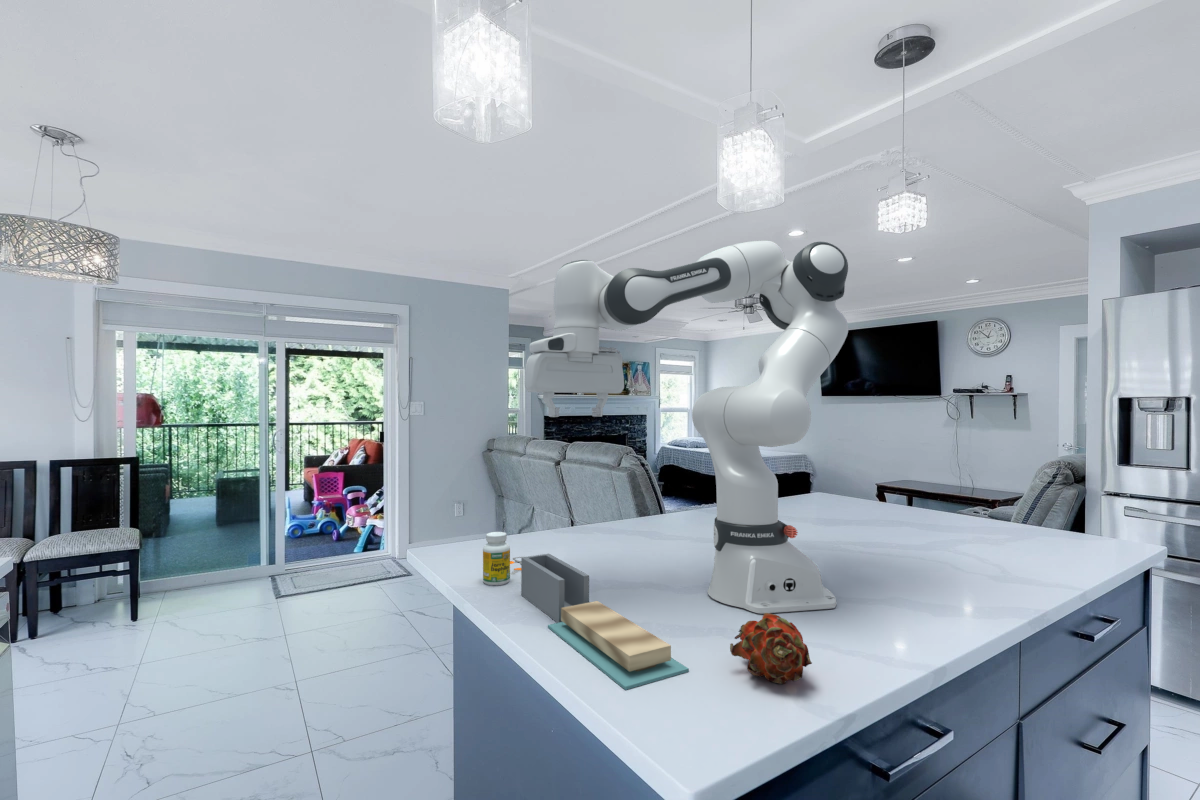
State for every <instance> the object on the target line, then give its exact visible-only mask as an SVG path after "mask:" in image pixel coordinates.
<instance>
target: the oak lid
mask: <svg viewBox="0 0 1200 800" xmlns="http://www.w3.org/2000/svg"><path fill="white" fill-rule="evenodd" d="M561 621H562V622H564V623H565V624H566V625H568V626H569V627H570V628H572V629H573V630H574V631H576V632H577V633H578V634H580V635H581V636H582V637H584V638H585V639H586V640H588V641H589V642H590V643H592V644H593V645H595V646H596V647H597V648H599V649H600V650H601V651H603V652H604V653H605V654H607V655H608V656H609V657H611V658H612V659H613V660H615V661H616V662H617V663H619V664H620V665H621V666H623V667H624V668H625V669H627V670H628V671H629V672H630V671H634V670H635V671H641V670H644V669H648V668H652V667H655V666H656V664H659V663H663V662H667V661H670V660H671V658H672V645H671V644H669V643H668V642H667V641H665V640H663V639H662V638H659V637H658V636H656V635H655V634H653V633H651V632H650V631H648V630H646V629H645V628H643V627H641V626H640V625H638V624H636V623H634V622H633V621H631V620H630V619H628V618H626V617H625V616H623V615H621V614H620V613H618V612H616V611H614V610H613V609H611V608H610V607H608V606H606V605H605V604H603V603H601V602H600V601H598V600H595V601H589V603H584V604H579V605H574V606H568V607H563V608H561Z"/></svg>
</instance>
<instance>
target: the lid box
mask: <svg viewBox="0 0 1200 800" xmlns="http://www.w3.org/2000/svg"><path fill="white" fill-rule="evenodd" d="M520 557H521V558H520V561H521V564H520V565H521V567H520V568H521V571H520V572H521V577H520V579H521V583H520V585H521V587H520V590H521V591H520V596H522V597H523V598H524V599H526V600H527V601H528V602H529V603H530V604H532V605H534V607H536V608H538V609H539V610H540V611H542V612H543V614H546V615H547V616H548V617H549V618H550V619H552V620H553V621H554V622H555V623H559V622H562V621H561V608H563V607H568V606H574V605H579V604H584V603H589V602H590V575H589V574H588V573H586V572H583V570H580V569H578V568H577V567H575V566H573V565H572V564H569V563H567V562H565V561H563V560H562V559H559V558H557V556H554V555H552V554H550V553H544V554H543V553H542V554H536V555H531V556H520Z"/></svg>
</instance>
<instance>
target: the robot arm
mask: <svg viewBox="0 0 1200 800" xmlns="http://www.w3.org/2000/svg"><path fill="white" fill-rule="evenodd" d="M848 272H849V261H848V259H847V256H846V255H845V253H844V252H843V251H842V250H841V249H840V248H839V247H838V246H836V245H835V244H833V243H830V242H827V241H826V242H825V241H815V242H811V243H810V244H808V245H806V246H804V247H803V248H802V249H801V250H799V252H798V253H796V255H795V256H794V258H793V260H792V261H790V260H788V259H787V258H786V255H785V253H784V251H783V249H782V247H781V246H780V245H779V244H777V243H776V242H774V241H771V240H751V241H745V242H739V243H734V244H731V245H728V246H727V245H726V246H724V247H721V248H718V249H716V250H713V251H710V252H708V253H706V254H705V255H702V256H701V257H699V258H698V259H697V261H695V262H692V263H688V264H684V265H680V266H675V267H673V268H668V269H664V270H651V269H645V268H639V267H631V268H626V269H623V270H621V271H619V272H617V273H616V274H615V275H612V274H610V273H608V272H606V271H605V270H604V269H602V268H601V267H599V266H598V264H597V263H596V261H594V260H589V259H579V260H578V259H577V260H573V261H571V262H568V263H565V264H563V265H562V266H561V267H560V268H559V269H558V270H557V271H556V274H555V278H554V288H553V289H554V290H553V310H554V314H555V321H554V326H553V335H550V336H546V337H544V338H542V339H538V340H535V341H532V342H530V343H529V348H528V349H529V352H530V355H529V356H528V358H527V360H526V364H525V371H524V388H525V389H526V391H528V392H529V393H542V399H543V401H544V402H545V406H546V407H547V408H548V409H547V410H548V413H547V414H548V417H550V418H558V417H560V407H556V406H555V403H554V401H553V399H555V393H556V394H557V393H561V394H562V393H564V394H565V393H568V394H570V393H571V394H576V393H577V394H596V399H597V400H598V401H597V403H596V406H595V407H591V416H592V417H603V415H604V414H603V413H604V411H603V410H604V409H603V408H604V407H605V405H606V404H607V401H608V400H609V394H621V393H622V392H623V391H624V389H625V377H624V376H625V375H624V369H623V368H624V367H623V355H622V353H621V352H620V350H618V349H617V348H616V347H605V346H600V328H602V329H606V330H610V331H615V332H617V331H619V332H620V331H621V332H622V331H626V330H628V329H630V328H633V327H635V326H637V325H641V324H645V323H647V322H648V321H650V320H652V319H654V318H655V317H656V316H657V315H658V314H659V313H660V312H661V311H662V310H663V309H664V308H665V307H667V306H670V305H672V304H676V303H679V302H683V301H686V300H692V299H693V298H694V299H695V298H697V297H701V298H702V299H704V300H705V301H707V302H708V303H710V304H713V303H714V304H718V303H727V302H732V301H736V300H739V299H743V298H746V297H748V296H752V295H756V294H759V295H758V296H759V300H758V301H759V304H760V306H761V307H762V308H763V309H764V312H765V314H766V315H767V318H768V319H769V320H770V321H771V323H772V324H774V325H775V326H776V327H778V328H779V329H781V330H783V331H782V332H781V334H779V336H778V337H777V338H775V340H774V341H773V342H772V343H771V344H770V345H769V346H768V348H767V349H766V350H765V351H764V352H763V353H762V354H761V356H760V357H759V361H758V369H759V370H758V371H759V374H760V375H759V376H758V378H757V379H756V380H755V381H754V382H752V383H750V384H747V385H741V386H740V385H739V386H720V387H717V388H714V389H711V390H709V391H706V392H703V393H701V395H699V397H697V398H696V400H695V401H694V404H693V407H692V410H691V417H692V423H693V426H694V428H695V430H696V431H697V432H698V434H700V436H701V437H702V438H703V440H704V442H705V444H706V446H707V448H708V449H707V450H708V452H709V456H710V458H711V462H712V465H713V469H714V475H715V485H716V487H715V488H716V490H715V491H716V516H715V518H714V523H713V545H714V548H715V552H714V554H715V555H714V562H713V568H712V574H711V579H710V582H709V587H708V589H707V593H708V594H707V595H709V597H710V598H711V599H713V600H714V601H717V602H720V603H722V604H725V605H729V606H732V607H737V608H741V609H744V610H747V611H750V612H753V613H756V614H764V613H770V614H773V613H775V614H776V613H788V612H802V611H815V610H816V611H817V610H828V609H829V610H830V609H835V608H836V606H837V598H836V596H835V595H834V593H833V592H832V591H830V590H829V589H828V588H826V587H825V586H824V585H823V580H822V575H821V572H820V569H819V568H818V566H817V564H816V563H815V562H814V561H813V560H812V559H811V558H809V557H808V556H807V555H806V554H804V552H802V551H801V550H800V549H798V548H797V547H796V546H795V545H794V544H792V543H791V542H790V541H788V540H789V538H790V539H795V538H796V537H797V536H798V533H799V532H798V529H796V527H794V526H793V525H791V524H790V525H789V524H786V523H784V522H782V521H781V520H779V483H778V479H777V476H776V474H775V473H774V471H772V470H771V469H770V468H769V467H768V466H767V464H766V463H765V461H764V459H763V456H762V453H761V451H760V447H766V448H775V447H776V448H777V447H782V446H787V445H792V444H795V443H798V442H800V441H801V440H803V438H804V437H805V436H806V434H807V433H808V430H810V429H809V428H810V426H811V421H812V420H811V419H812V412H811V407H810V405H809V402H808V400H807V395H808V393H809V391H810V390H811V388H812V387H814V384H815V383H816V382H817V381H818V379H819V378H820V377H821V375H822V374H823V373H824V372H825V371H826V369H828V367H829V366H830V365H831V363H832V362H833V361H834V360H835V358H836V356H838V354H839V352H840V350H841V349H842V347H843V345H844V344H845V341H846V339H847V337H848V333H849V324H848V321H847V319H846V317H845V315H844V314H843V313H842V312H841V311H840V310H839V309H838V308H837V306H836V303H837V302H836V301H838V300H839V299H842V298H843V297H844V295H845V290H846V289H845V287H846V286H845V284H846V280H847V277H848Z"/></svg>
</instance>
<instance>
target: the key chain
mask: <svg viewBox="0 0 1200 800" xmlns="http://www.w3.org/2000/svg"><path fill="white" fill-rule="evenodd" d="M521 557H522V556H516V557H512V559H513V560H514V561H513V560H512V561H511V560H510V565H513V564H515V563H519V564H520V565H521V560H518V559H521ZM518 572H521V567H516V568H514V569H513V571H512V572H510V575H516V574H517V573H518Z"/></svg>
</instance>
